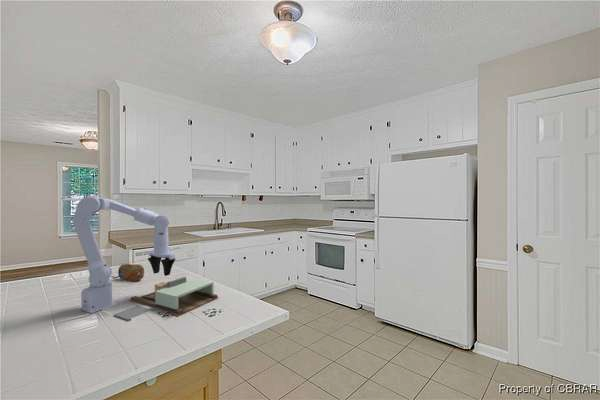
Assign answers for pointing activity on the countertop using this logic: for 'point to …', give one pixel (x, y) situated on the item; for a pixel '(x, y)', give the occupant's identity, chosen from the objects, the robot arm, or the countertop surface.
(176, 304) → the cover
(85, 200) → the robot arm
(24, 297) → the countertop surface
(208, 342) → the countertop surface
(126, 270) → the tin
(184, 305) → the puzzle board
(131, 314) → the mat
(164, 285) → the block
